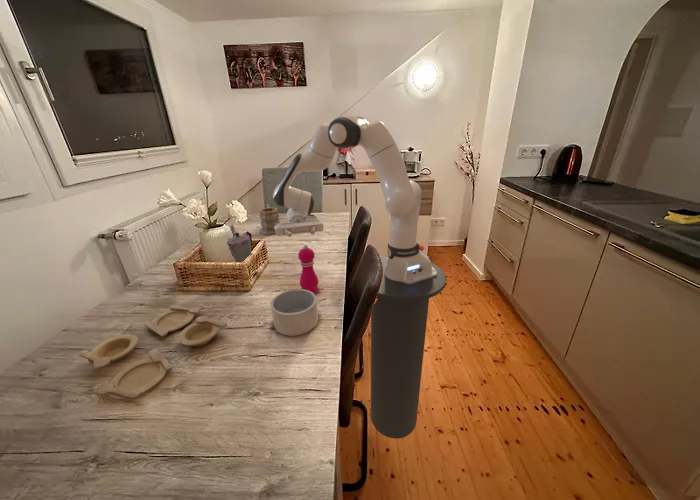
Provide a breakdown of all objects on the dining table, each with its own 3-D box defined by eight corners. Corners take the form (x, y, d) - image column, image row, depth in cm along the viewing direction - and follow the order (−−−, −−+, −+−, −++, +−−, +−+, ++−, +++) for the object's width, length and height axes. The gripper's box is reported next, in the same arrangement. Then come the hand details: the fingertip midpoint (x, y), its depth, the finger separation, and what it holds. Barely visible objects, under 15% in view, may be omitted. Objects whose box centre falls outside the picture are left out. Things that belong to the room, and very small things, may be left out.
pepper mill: (322, 289, 112) (319, 243, 104) (310, 298, 106) (306, 250, 98) (309, 285, 115) (304, 240, 107) (297, 293, 110) (291, 246, 102)
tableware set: (183, 304, 105) (181, 295, 103) (239, 326, 92) (237, 316, 91) (63, 371, 77) (57, 360, 75) (120, 416, 64) (113, 404, 62)
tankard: (282, 233, 174) (278, 209, 167) (260, 235, 171) (256, 211, 165) (281, 223, 191) (278, 201, 185) (262, 225, 189) (259, 203, 183)
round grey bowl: (314, 304, 102) (312, 286, 99) (321, 330, 89) (319, 309, 86) (273, 312, 99) (270, 293, 96) (274, 339, 86) (271, 318, 83)
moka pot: (228, 281, 120) (217, 237, 112) (246, 265, 134) (238, 225, 126) (248, 282, 118) (239, 238, 110) (264, 266, 132) (258, 226, 124)
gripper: (273, 218, 122) (273, 229, 110) (319, 214, 127) (325, 223, 115) (274, 232, 124) (276, 243, 112) (320, 227, 129) (326, 238, 117)
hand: (301, 233), depth 113 cm, fingers open, 8 cm apart
